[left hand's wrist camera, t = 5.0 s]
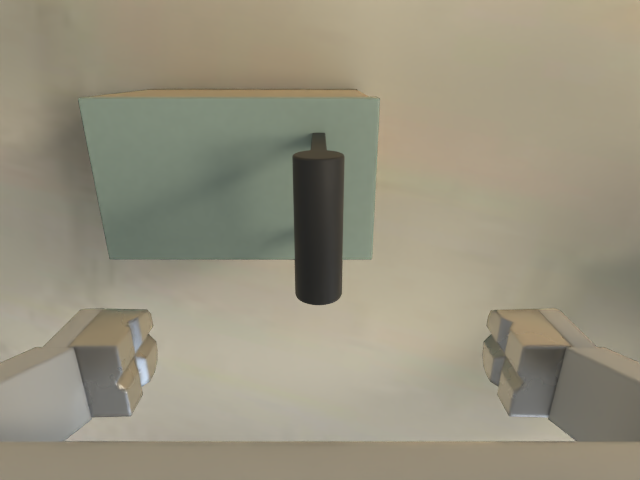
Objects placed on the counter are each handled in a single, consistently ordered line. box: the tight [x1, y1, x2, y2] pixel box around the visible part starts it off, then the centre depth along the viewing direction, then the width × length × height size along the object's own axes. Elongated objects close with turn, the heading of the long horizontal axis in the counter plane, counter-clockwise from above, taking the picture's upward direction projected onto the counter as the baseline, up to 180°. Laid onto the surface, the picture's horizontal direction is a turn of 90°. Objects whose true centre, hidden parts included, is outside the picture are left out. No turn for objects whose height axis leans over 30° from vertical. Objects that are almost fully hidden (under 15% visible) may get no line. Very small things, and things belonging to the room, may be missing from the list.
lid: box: [78, 97, 380, 305], centre depth 21 cm, size 16×9×9 cm, turn 90°
